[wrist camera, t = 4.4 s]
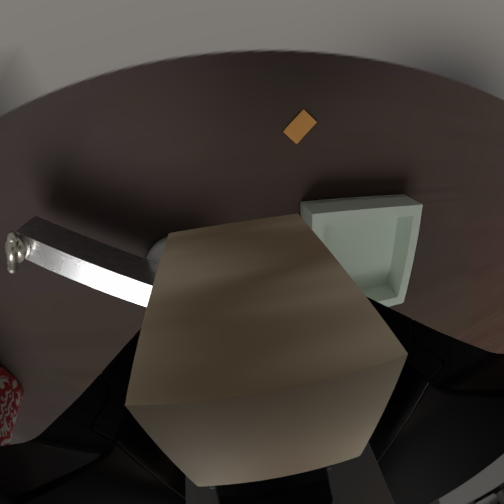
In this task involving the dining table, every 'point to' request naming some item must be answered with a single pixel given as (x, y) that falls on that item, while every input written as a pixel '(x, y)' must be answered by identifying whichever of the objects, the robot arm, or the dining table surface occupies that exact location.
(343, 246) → the stop tray
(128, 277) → the crank
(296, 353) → the stop block
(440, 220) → the dining table surface
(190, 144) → the dining table surface
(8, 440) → the mug
